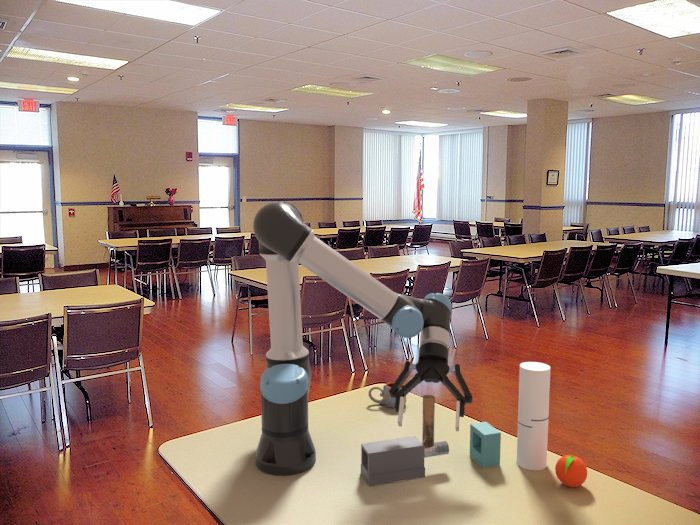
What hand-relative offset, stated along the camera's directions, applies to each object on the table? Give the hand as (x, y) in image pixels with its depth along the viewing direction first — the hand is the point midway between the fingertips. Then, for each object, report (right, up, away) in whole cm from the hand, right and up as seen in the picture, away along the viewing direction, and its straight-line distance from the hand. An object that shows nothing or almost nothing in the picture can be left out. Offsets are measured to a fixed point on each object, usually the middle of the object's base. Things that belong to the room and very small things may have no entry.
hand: (428, 426), depth 137 cm
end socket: (+15, -11, +8) cm, 20 cm away
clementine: (+32, -12, -5) cm, 35 cm away
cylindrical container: (+27, -11, +6) cm, 29 cm away
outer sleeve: (-8, -12, +1) cm, 14 cm away
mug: (-7, -6, +46) cm, 47 cm away
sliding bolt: (-4, -8, +2) cm, 9 cm away
